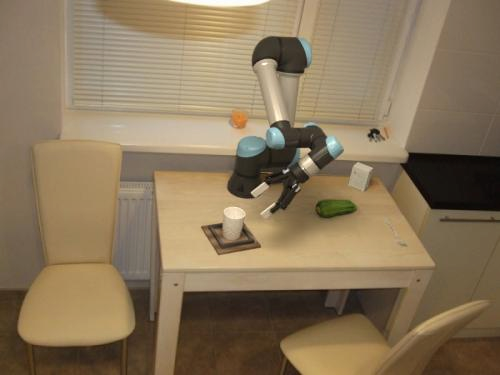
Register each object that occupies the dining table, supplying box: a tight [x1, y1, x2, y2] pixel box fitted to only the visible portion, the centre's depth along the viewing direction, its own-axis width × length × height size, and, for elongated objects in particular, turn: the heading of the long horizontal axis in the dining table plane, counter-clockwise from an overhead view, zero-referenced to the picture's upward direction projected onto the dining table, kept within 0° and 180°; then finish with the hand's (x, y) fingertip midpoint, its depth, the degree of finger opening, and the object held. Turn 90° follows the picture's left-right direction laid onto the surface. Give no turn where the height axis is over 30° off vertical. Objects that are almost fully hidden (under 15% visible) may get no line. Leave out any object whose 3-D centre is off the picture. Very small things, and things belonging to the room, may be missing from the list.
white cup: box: [222, 206, 246, 240], centre depth 199 cm, size 8×8×10 cm
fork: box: [383, 216, 408, 246], centre depth 223 cm, size 3×24×2 cm, turn 9°
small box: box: [347, 161, 374, 193], centre depth 248 cm, size 8×6×10 cm
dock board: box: [200, 222, 262, 256], centre depth 201 cm, size 17×17×2 cm
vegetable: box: [315, 198, 358, 218], centre depth 226 cm, size 7×7×20 cm
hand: (257, 205), depth 196 cm, fingers open, 13 cm apart
